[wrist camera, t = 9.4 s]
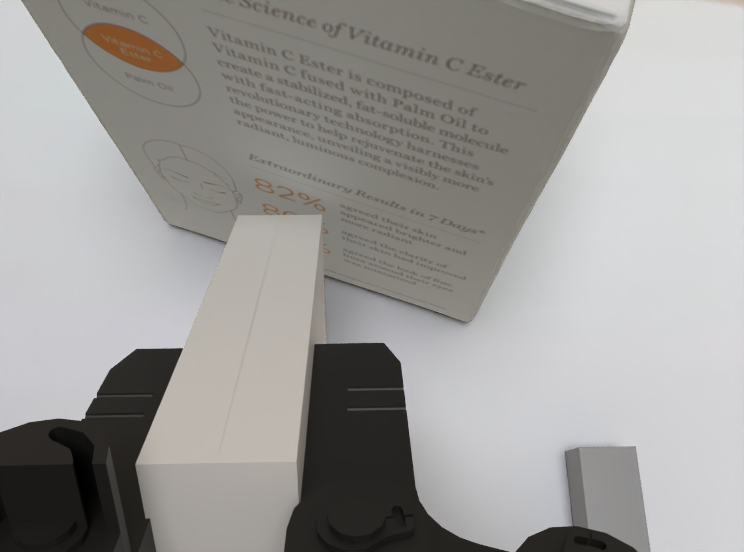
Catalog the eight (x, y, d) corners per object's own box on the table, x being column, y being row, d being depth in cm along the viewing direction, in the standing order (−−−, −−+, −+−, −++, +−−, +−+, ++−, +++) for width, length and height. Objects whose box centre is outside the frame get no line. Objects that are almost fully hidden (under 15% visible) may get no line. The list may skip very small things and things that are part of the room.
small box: (530, 137, 18) (746, -335, 8) (469, 332, 16) (653, 28, 6) (247, 48, 19) (127, -484, 9) (157, 225, 17) (-118, -198, 7)
